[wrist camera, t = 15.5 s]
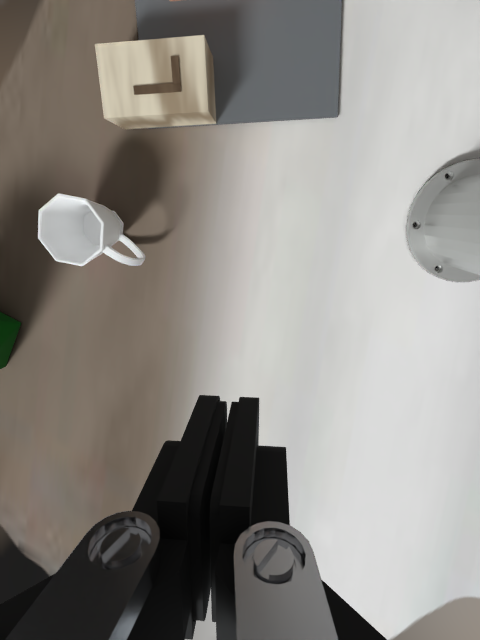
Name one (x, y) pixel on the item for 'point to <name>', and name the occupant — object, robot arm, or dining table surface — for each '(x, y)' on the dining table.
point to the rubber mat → (259, 53)
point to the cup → (82, 231)
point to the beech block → (157, 82)
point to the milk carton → (7, 337)
